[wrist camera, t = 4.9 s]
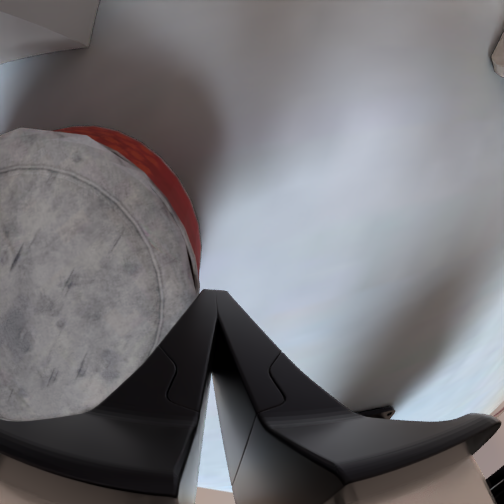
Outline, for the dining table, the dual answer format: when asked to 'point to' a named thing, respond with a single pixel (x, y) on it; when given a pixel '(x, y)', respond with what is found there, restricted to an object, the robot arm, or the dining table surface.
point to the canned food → (86, 265)
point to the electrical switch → (499, 57)
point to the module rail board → (44, 26)
